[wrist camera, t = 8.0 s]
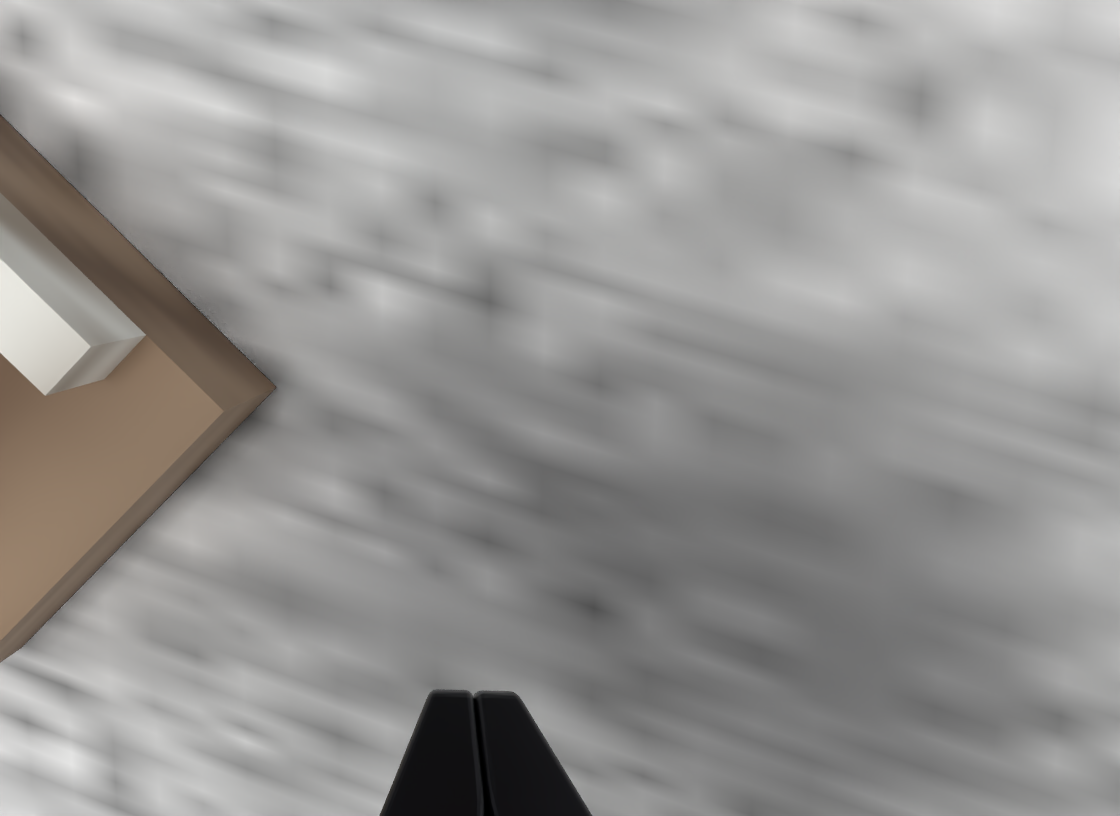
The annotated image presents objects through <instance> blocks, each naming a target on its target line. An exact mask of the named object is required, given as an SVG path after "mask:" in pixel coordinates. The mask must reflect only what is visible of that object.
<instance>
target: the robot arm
mask: <svg viewBox="0 0 1120 816" xmlns="http://www.w3.org/2000/svg"><path fill="white" fill-rule="evenodd" d="M380 816H592V815H591V813H590V811H589V810H588V808H587V806H586V805H585V803H584V801H583V800H582V798H581V797H580V795H579V793H578V792H577V790H576V788H575V787H574V785H573V783H572V782H571V780H570V778H569V777H568V775H567V774H566V772H565V770H564V769H563V767H562V765H561V764H560V762H559V760H558V759H557V757H556V756H555V754H554V752H553V751H552V749H551V747H550V746H549V744H548V742H547V741H546V739H545V737H544V736H543V734H542V733H541V731H540V729H539V728H538V726H537V724H536V723H535V721H534V719H533V718H532V716H531V714H530V713H529V711H528V710H527V708H526V706H525V705H524V703H523V701H522V700H521V698H520V697H519V696H518V695H517V694H515V693H514V692H510V691H478V692H477V693H475V695H474V696H472V694H471V693H470V692H469V691H467V690H445V689H436V690H433V691H431V692H430V693H429V695H428V697H427V699H426V702H425V704H424V707H423V709H422V712H421V714H420V717H419V719H418V722H417V724H416V727H415V729H414V731H413V734H412V736H411V739H410V741H409V744H408V746H407V749H406V751H405V754H404V756H403V759H402V761H401V764H400V766H399V769H398V771H397V774H396V776H395V779H394V781H393V784H392V786H391V789H390V791H389V794H388V796H387V799H386V801H385V804H384V806H383V809H382V811H381V813H380Z"/></svg>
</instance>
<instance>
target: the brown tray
mask: <svg viewBox="0 0 1120 816" xmlns="http://www.w3.org/2000/svg"><path fill="white" fill-rule="evenodd" d="M275 388H276V386H274V385H273V384H272V383H271V382H270V381H269V380H268V379H267V378H266V377H265V376H264V375H263V374H262V373H261V372H260V371H259V370H258V369H257V368H256V367H255V366H254V365H253V364H252V363H251V362H250V361H249V360H248V359H247V358H246V357H245V356H244V355H243V354H242V353H241V352H240V351H239V350H238V349H237V348H236V347H235V346H234V345H233V344H232V343H231V342H230V341H229V340H228V339H227V338H226V337H225V336H224V335H223V334H222V333H221V332H220V331H219V330H218V329H217V328H216V327H215V326H214V325H213V324H212V323H211V322H210V321H209V320H208V319H207V318H206V317H205V316H204V315H203V314H201V313H200V312H199V311H198V310H197V309H196V308H195V307H194V306H193V305H192V304H191V303H190V302H189V301H188V300H187V299H186V298H185V297H184V296H183V295H182V294H181V293H180V292H179V291H178V290H177V289H176V288H175V287H174V286H173V285H172V284H171V283H170V282H169V281H168V280H167V279H166V278H165V277H164V276H163V275H162V274H161V273H160V272H159V271H158V270H157V269H156V268H155V267H154V266H153V265H152V264H151V263H150V262H149V261H148V260H147V259H146V258H145V257H144V256H143V255H142V254H141V253H140V252H139V251H138V250H137V249H136V248H135V247H134V246H133V245H132V244H131V243H130V242H128V241H127V240H126V239H125V238H124V237H123V236H122V235H121V234H120V233H119V232H118V231H117V230H116V229H115V228H114V227H113V226H112V225H111V224H110V223H109V222H108V221H107V220H106V219H105V218H104V217H103V216H102V215H101V214H100V213H99V212H98V211H97V210H96V209H95V208H94V207H93V206H92V205H91V204H90V203H89V202H88V201H87V200H86V199H85V198H84V197H83V196H82V195H81V194H80V193H79V192H78V191H77V190H76V189H75V188H74V187H73V186H72V185H71V184H70V183H69V182H68V181H67V180H66V179H65V178H64V177H63V176H62V175H61V174H60V173H59V172H58V171H57V170H56V169H54V168H53V167H52V166H51V165H50V164H49V163H48V162H47V161H46V160H45V159H44V158H43V157H42V156H41V155H40V154H39V153H38V152H37V151H36V150H35V149H34V148H33V147H32V146H31V145H30V144H29V143H28V142H27V141H26V140H25V139H24V138H23V137H22V136H21V135H20V134H19V133H18V132H17V131H16V130H15V129H14V128H13V127H12V126H11V125H10V124H9V123H8V122H7V121H6V120H5V119H4V118H3V117H2V116H1V115H0V662H2V661H3V660H4V659H6V658H7V657H9V656H10V655H12V654H13V653H14V652H16V651H17V650H19V649H20V648H21V647H22V646H23V645H24V644H25V643H26V642H27V641H28V640H29V639H30V638H31V637H32V636H33V635H34V634H35V633H36V632H37V631H38V630H39V629H40V628H41V627H42V626H43V625H44V624H45V623H46V622H47V621H48V620H49V619H50V618H51V617H52V616H53V615H54V614H55V613H56V612H57V611H58V610H59V609H60V608H61V607H62V606H63V605H64V604H65V603H66V602H67V601H68V600H69V599H70V597H71V596H72V595H73V594H74V593H75V592H76V591H77V590H78V589H79V588H80V587H81V586H82V585H83V584H84V583H85V582H86V581H87V580H88V579H89V578H90V577H91V576H92V575H93V574H94V573H95V572H96V571H97V570H98V569H99V568H100V567H101V566H102V565H103V564H104V563H105V562H106V561H107V560H108V559H109V558H110V557H111V556H112V555H113V554H114V553H115V552H116V551H117V550H118V549H119V547H120V546H121V545H122V544H123V543H124V542H125V541H126V540H127V539H128V538H129V537H130V536H131V535H132V534H133V533H134V532H135V531H136V530H137V529H138V528H139V527H140V526H141V525H142V524H143V523H144V522H145V521H146V520H147V519H148V518H149V517H150V516H151V515H152V514H153V513H154V512H155V511H156V510H157V509H158V508H159V507H160V506H161V505H162V504H163V503H164V502H165V501H166V500H167V499H168V498H169V496H170V495H171V494H172V493H173V492H174V491H175V490H176V489H177V488H178V487H179V486H180V485H181V484H182V483H183V482H184V481H185V480H186V479H187V478H188V477H189V476H190V475H191V474H192V473H193V472H194V471H195V470H196V469H197V468H198V467H199V466H200V465H201V464H202V463H203V462H204V461H205V460H206V459H207V458H208V457H209V456H210V455H211V454H212V453H213V452H214V451H215V450H216V449H217V448H218V447H219V445H220V444H221V443H222V442H223V441H224V440H225V439H226V438H227V437H228V436H229V435H230V434H231V433H232V432H233V431H234V430H235V429H236V428H237V427H238V426H239V425H240V424H241V423H242V422H243V421H244V420H245V419H246V418H247V417H248V416H249V415H250V414H251V413H252V412H253V411H254V410H255V409H256V408H257V407H258V406H259V405H260V404H261V403H262V402H263V401H264V400H265V399H266V398H267V397H268V395H269V394H270V393H271V392H272V391H273V390H274V389H275Z"/></svg>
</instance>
